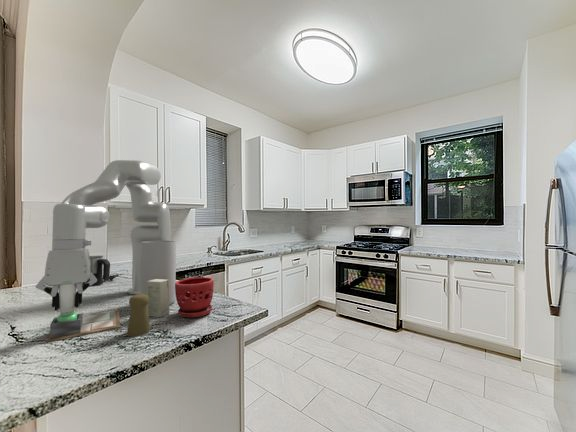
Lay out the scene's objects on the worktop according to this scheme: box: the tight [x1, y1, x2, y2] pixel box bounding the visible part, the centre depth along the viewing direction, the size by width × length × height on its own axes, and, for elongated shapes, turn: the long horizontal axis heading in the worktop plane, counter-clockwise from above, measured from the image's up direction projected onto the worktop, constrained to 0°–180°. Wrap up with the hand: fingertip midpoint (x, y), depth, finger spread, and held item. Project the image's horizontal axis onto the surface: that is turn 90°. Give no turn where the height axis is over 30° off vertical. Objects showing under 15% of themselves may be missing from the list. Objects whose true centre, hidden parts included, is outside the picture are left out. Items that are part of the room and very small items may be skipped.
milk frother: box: [83, 255, 119, 287], centre depth 142 cm, size 14×16×15 cm
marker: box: [57, 281, 78, 316], centre depth 76 cm, size 4×4×10 cm
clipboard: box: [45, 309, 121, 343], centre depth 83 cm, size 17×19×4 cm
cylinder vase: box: [141, 240, 177, 306], centre depth 105 cm, size 12×12×25 cm
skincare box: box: [147, 279, 170, 318], centre depth 92 cm, size 6×4×12 cm
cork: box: [126, 294, 151, 337], centre depth 78 cm, size 6×6×11 cm
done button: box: [57, 312, 78, 323], centre depth 76 cm, size 4×4×2 cm
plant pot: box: [175, 276, 214, 319], centre depth 93 cm, size 13×13×12 cm
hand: (67, 307), depth 76 cm, fingers closed on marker, 4 cm apart
